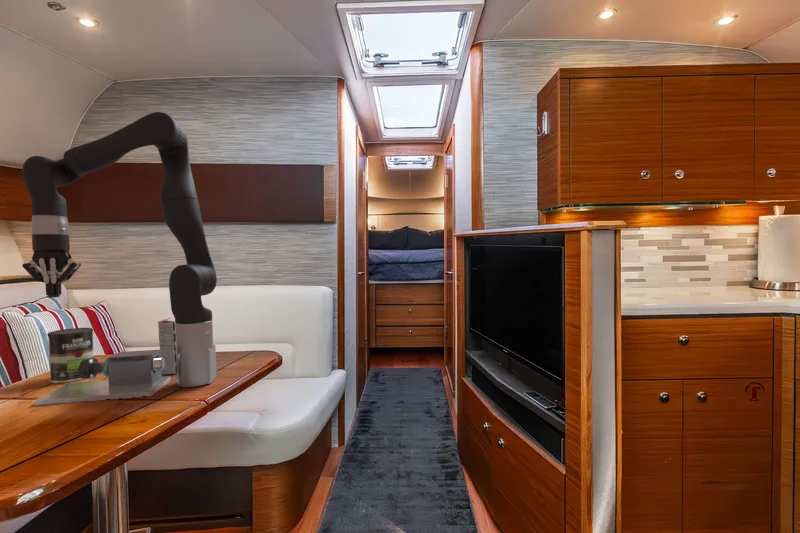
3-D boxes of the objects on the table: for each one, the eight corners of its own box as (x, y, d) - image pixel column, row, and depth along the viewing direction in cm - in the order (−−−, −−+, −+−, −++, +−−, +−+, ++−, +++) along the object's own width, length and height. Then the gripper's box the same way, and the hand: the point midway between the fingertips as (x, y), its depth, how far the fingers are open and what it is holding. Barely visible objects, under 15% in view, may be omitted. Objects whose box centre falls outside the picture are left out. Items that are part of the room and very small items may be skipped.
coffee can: (101, 375, 117) (99, 329, 116) (57, 385, 108) (54, 335, 107) (86, 370, 122) (84, 326, 122) (44, 379, 113) (41, 332, 113)
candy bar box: (177, 364, 127) (175, 315, 126) (193, 364, 127) (191, 314, 127) (159, 375, 116) (157, 321, 115) (176, 374, 116) (174, 320, 116)
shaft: (166, 370, 107) (166, 351, 107) (158, 376, 102) (158, 356, 102) (90, 375, 104) (90, 356, 103) (78, 381, 98) (78, 361, 98)
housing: (170, 379, 111) (169, 346, 111) (150, 396, 98) (149, 358, 98) (68, 387, 106) (67, 352, 106) (34, 405, 93) (32, 365, 93)
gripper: (87, 233, 109) (89, 295, 110) (32, 234, 106) (35, 296, 107) (70, 232, 102) (73, 297, 102) (11, 232, 99) (14, 299, 100)
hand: (53, 297), depth 105 cm, fingers closed
